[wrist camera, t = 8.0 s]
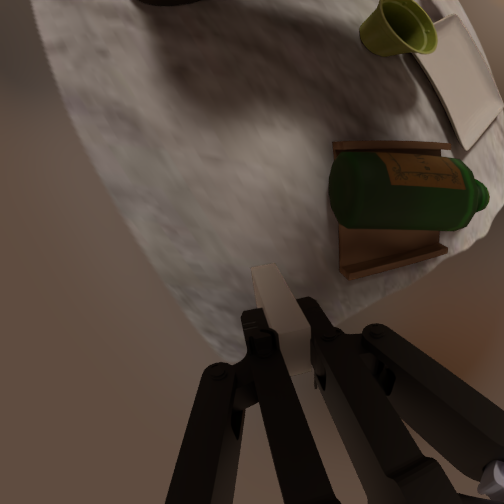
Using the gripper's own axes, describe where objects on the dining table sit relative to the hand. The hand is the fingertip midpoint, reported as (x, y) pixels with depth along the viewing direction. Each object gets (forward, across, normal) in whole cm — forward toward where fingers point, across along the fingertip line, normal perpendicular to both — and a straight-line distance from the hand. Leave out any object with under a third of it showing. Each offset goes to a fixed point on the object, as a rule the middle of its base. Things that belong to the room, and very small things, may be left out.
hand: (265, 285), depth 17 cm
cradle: (+18, +23, -1) cm, 29 cm away
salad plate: (+19, +41, +20) cm, 50 cm away
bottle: (+12, +11, +3) cm, 17 cm away
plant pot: (+18, +23, +24) cm, 38 cm away
